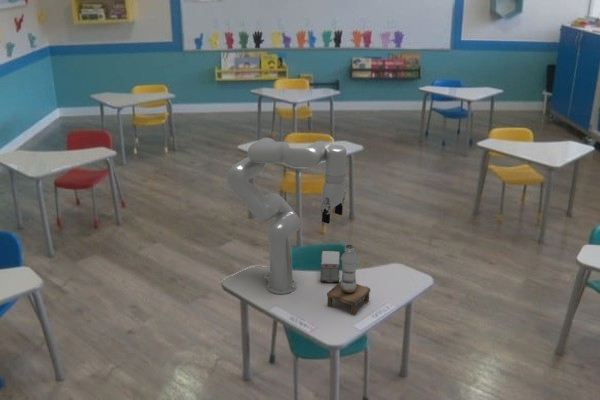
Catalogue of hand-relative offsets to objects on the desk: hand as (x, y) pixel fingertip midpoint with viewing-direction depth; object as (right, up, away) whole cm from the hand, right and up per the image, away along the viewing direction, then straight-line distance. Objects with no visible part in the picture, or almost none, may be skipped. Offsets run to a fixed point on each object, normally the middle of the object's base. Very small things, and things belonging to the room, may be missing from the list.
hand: (332, 218), depth 224 cm
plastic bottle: (+7, -30, +9) cm, 32 cm away
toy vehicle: (+1, -27, +33) cm, 43 cm away
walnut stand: (+7, -35, +11) cm, 38 cm away
